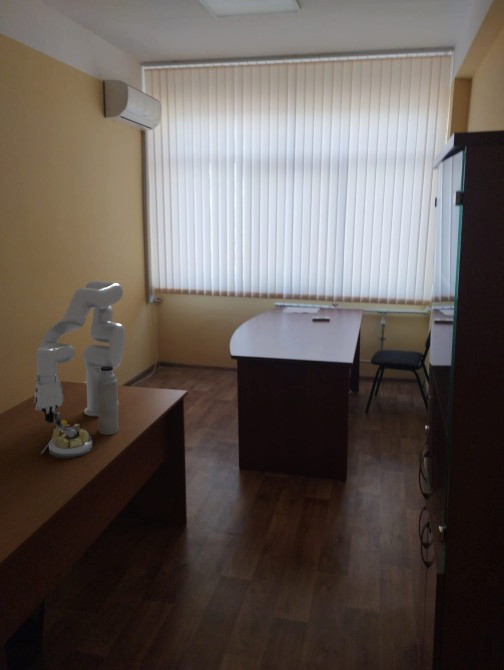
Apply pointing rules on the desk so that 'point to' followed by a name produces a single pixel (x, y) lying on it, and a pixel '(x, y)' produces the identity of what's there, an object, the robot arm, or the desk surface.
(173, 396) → the desk surface
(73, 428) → the plate with blocky chunks
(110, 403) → the thermos bottle
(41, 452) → the screwdriver
